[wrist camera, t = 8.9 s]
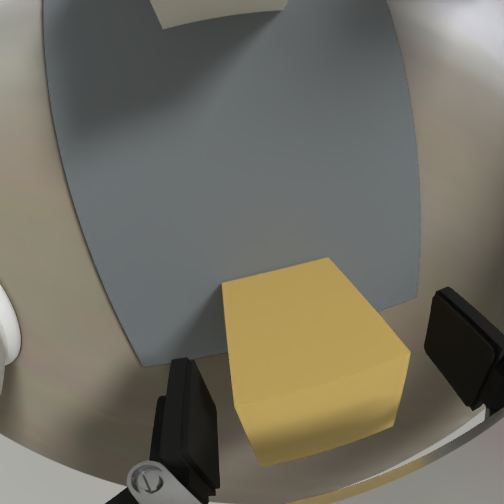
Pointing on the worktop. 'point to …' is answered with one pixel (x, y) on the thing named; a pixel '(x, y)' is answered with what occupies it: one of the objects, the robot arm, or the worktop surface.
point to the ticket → (208, 9)
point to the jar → (8, 334)
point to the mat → (233, 156)
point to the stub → (309, 361)
